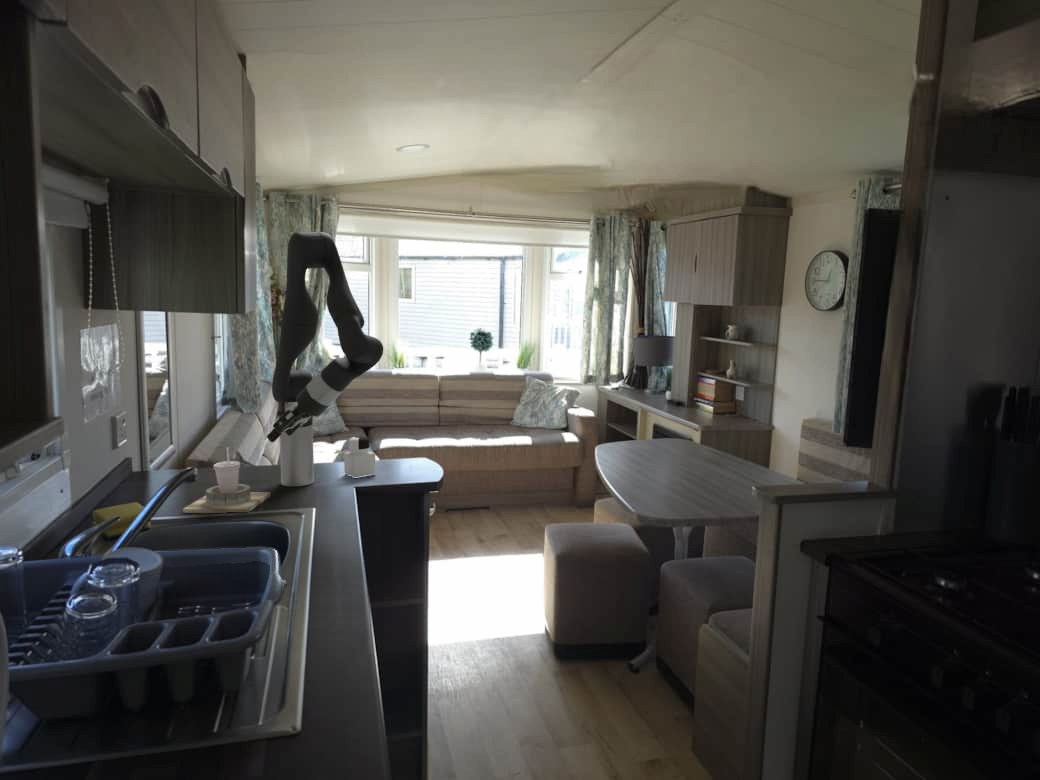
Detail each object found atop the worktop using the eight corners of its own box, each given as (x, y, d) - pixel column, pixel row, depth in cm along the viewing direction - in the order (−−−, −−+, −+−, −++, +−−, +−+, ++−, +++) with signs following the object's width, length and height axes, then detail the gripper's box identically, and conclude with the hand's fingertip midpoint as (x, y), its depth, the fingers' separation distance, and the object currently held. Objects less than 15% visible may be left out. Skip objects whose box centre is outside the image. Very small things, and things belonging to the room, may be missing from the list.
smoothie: (233, 504, 171) (229, 450, 169) (210, 503, 172) (206, 450, 170) (247, 496, 177) (243, 445, 175) (225, 495, 178) (221, 444, 176)
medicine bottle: (365, 471, 212) (364, 434, 210) (375, 475, 206) (375, 437, 205) (344, 474, 207) (343, 436, 206) (354, 479, 202) (353, 440, 200)
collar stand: (211, 495, 182) (210, 481, 182) (270, 495, 182) (270, 481, 182) (183, 512, 166) (182, 497, 166) (247, 512, 167) (247, 497, 166)
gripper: (322, 379, 174) (282, 420, 178) (295, 386, 161) (253, 430, 164) (341, 400, 174) (301, 441, 178) (316, 409, 160) (273, 453, 164)
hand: (278, 436), depth 171 cm, fingers open, 8 cm apart
